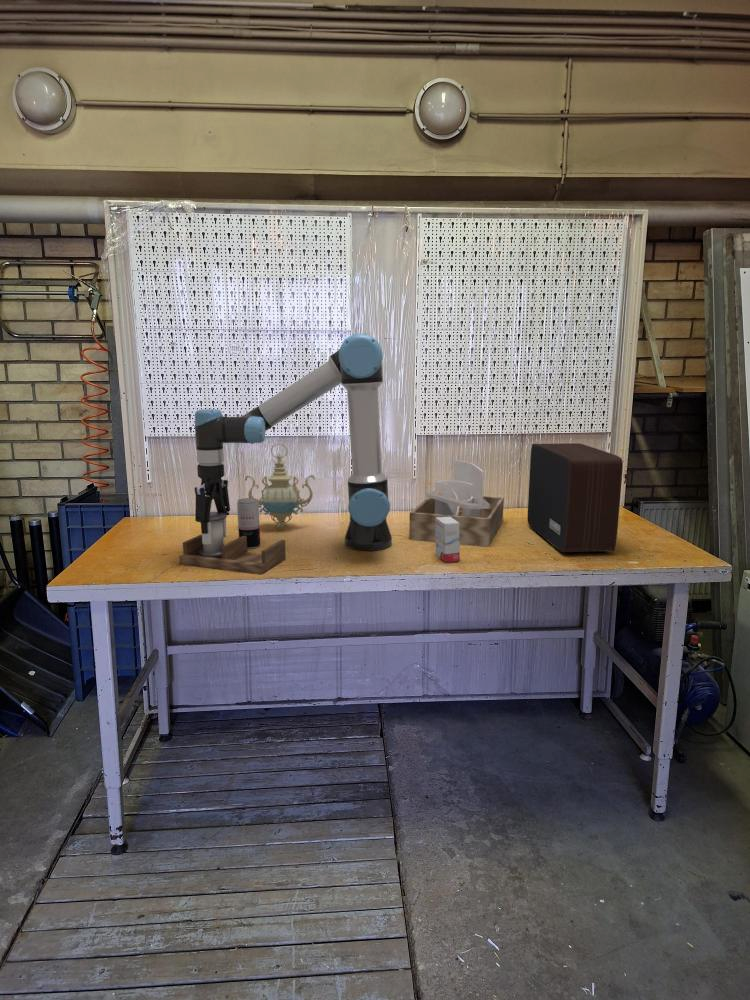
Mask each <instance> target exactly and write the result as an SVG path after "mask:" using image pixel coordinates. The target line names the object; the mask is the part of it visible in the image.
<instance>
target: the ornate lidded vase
mask: <svg viewBox="0 0 750 1000" xmlns="http://www.w3.org/2000/svg"><path fill="white" fill-rule="evenodd" d="M278 445H280V446H283V448H285V450H286V453H285V454H284V456H282V455H281V453H280V452H279V453H278V454H277V456H276V455H274V454H273V448H274V447H275V446H278ZM270 453H271V456H272V457H274V458H275V459H277V461H275V460H272V462H273V463H274V467H273V470H274V471H273V472H272V474H273V475H272V474H271V475H270V476H269V477H268V475H265V476H264V477H263V478H262V480H261V483H262V484H263V485H264V488H263V489H262V490H261V491H260V492H261V498H257V499H258V504H259V513H262V512H264V515H266V516H267V515H269V516H271V517H270V518H271V520H272V521H273V522H274V523H276V525H275V527H278V528H279V529H281V530H283V529H285V528H286V527H289V525H288V523H289V522H290V521H291V520H292V518H293V516H292V515H293V514H295V515H298V514H299V511H300V512H301V513H302V512H304V510H303V508H304V507H306V506H308V505H309V504H310V502H311V501H312V499H313V494H314V493H313V490H312V488H311V486H310V485H309V483H308V479H309V478H312V479H313V481H315V480H316V477H315V474H310V475H308V476H307V477H306V479H305V483H303V484H302V485H301V488H302V489H304V488H305V487H307V488H308V490H309V496H308V498H306V499H305V498H302V497H301V496H300V493H301V490H300V489H299V488H298V487H297V485H298V483H299V478H298V477H297V476H296V475H293V477H292V475H289V474H288V473H287V472H288V471H287V470H286V468H287V466H285V463H286V459H285V460H284V461H282V459H283V458H285V457H286V456H287V454H288V448H287V446H286V445H284V444H283V443H275V444H274V445H272V447H271V448H270ZM248 478H249V479H251V480H252V486H251V488H249V491H248V495H247V496H248V498H254V496H253V495H252V491H253V488H255V487H256V489H259V487H260V485H259V484H257V483H256V479H255V478H254V477H253V476H252V475H250V474H247V475H245V478H244V481H245V482H247V480H248ZM267 478H268V479H267ZM292 478H293V484H290V482H289V481H290V480H291V479H292ZM268 481H269V482H270V483H271V484H270V485H269V484H268ZM262 506H263V507H262ZM295 509H296V510H295ZM287 517H288V520H287ZM275 518H276V519H275ZM276 520H277V521H276ZM286 520H287V521H286Z"/></svg>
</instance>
